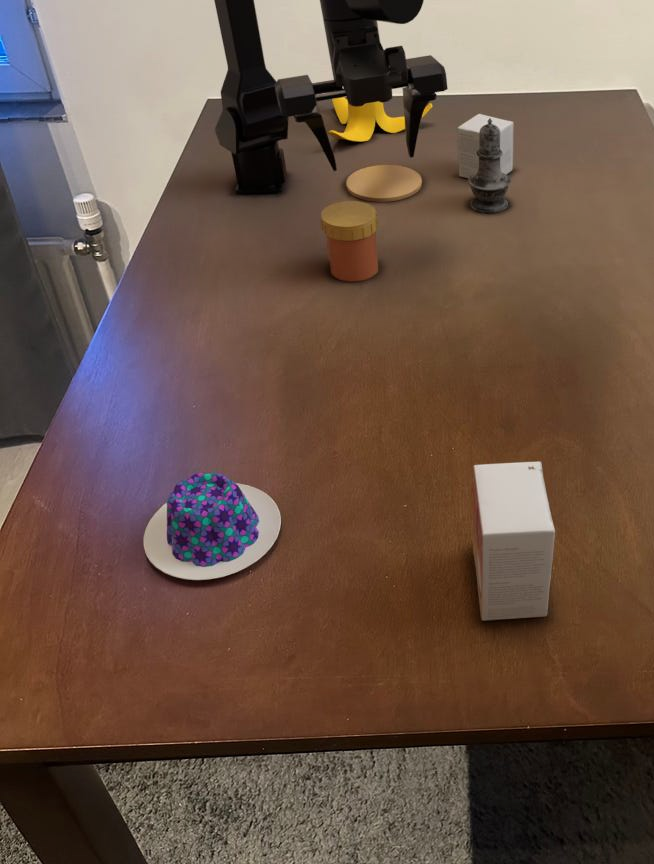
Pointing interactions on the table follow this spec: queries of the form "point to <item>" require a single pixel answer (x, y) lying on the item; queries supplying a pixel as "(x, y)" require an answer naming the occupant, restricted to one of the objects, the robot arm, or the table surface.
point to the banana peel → (365, 120)
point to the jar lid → (349, 220)
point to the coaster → (384, 183)
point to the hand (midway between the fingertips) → (373, 163)
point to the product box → (470, 144)
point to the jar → (353, 258)
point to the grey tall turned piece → (489, 173)
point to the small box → (512, 540)
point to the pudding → (211, 528)
